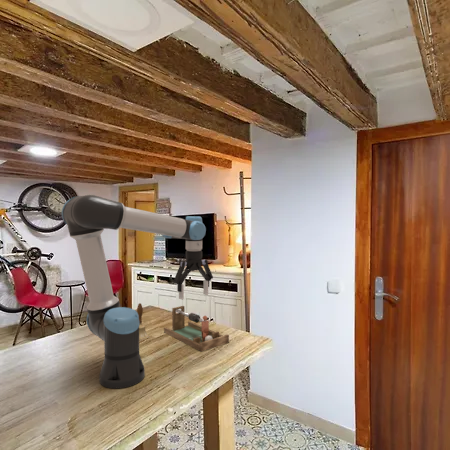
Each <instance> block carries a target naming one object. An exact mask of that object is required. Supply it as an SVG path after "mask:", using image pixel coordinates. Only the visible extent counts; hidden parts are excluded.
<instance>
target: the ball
mask: <svg viewBox="0 0 450 450" xmlns="http://www.w3.org/2000/svg"><path fill="white" fill-rule="evenodd" d="M211 339H213V338H212V336H206V337H205V341H208V340H211Z"/></svg>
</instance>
